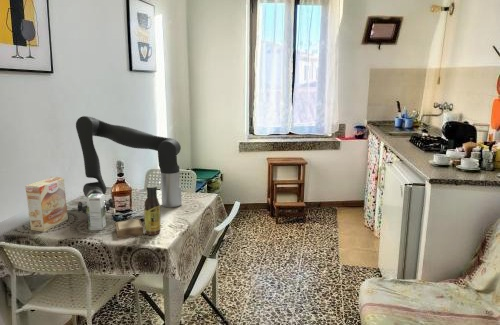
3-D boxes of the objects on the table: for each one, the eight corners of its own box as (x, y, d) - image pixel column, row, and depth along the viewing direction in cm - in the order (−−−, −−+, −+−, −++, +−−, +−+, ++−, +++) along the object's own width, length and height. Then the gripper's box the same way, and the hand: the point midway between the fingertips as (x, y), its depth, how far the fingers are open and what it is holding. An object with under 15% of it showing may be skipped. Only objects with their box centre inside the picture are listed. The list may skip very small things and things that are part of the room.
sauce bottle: (152, 237, 151) (150, 189, 146) (142, 233, 154) (139, 187, 149) (164, 231, 156) (162, 185, 152) (153, 228, 159) (151, 183, 155)
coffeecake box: (44, 232, 155) (39, 186, 151) (30, 230, 156) (24, 185, 152) (68, 219, 169) (64, 177, 165) (55, 217, 171) (50, 176, 166)
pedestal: (140, 225, 162) (139, 218, 162) (143, 234, 153) (142, 226, 153) (115, 228, 159) (115, 221, 158) (117, 237, 150) (117, 230, 149)
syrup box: (92, 225, 162) (89, 193, 159) (107, 225, 162) (104, 193, 159) (88, 230, 156) (85, 197, 153) (103, 230, 157) (100, 197, 154)
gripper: (77, 192, 167) (76, 203, 152) (111, 189, 172) (113, 199, 158) (79, 208, 169) (78, 221, 154) (112, 204, 174) (114, 216, 159)
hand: (96, 210), depth 156 cm, fingers open, 8 cm apart
